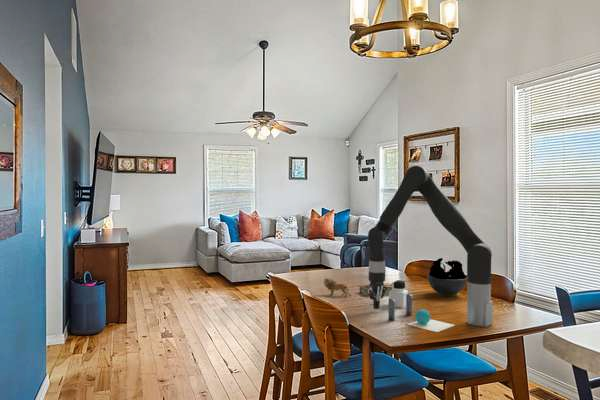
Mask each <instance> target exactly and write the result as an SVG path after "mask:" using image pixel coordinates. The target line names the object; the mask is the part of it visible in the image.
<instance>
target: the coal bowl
mask: <svg viewBox="0 0 600 400" xmlns="http://www.w3.org/2000/svg"><path fill="white" fill-rule="evenodd" d="M443 259H444V258H442V257H439V258H437V259H436V260H434V261H433V262H432V265H431V266H430V269H429V273H428V274H427V281H428V283H429V286H430V287H431V288H432V289H433V291H434V292H436V293H437V294H439V295H442V296H446V297H447V296H448V297H450V296H454V295H457V294H459V293H460V292H461V291H463V289H465V287H466V285H467V282H468V281H467V274H465V273H464V270H463V263H462V262H460V261H459V260H447V261H444V263H445V264H446V265H447V266H449V267H451V268H450V269H449V270H447V271H445V269H444V268H443V267H442V266H441V265H442V262H443Z"/></svg>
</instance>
